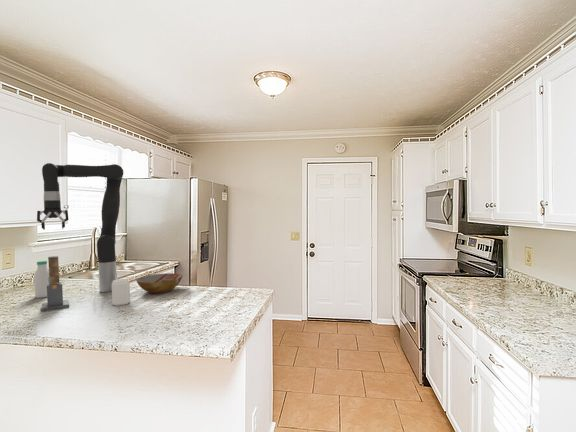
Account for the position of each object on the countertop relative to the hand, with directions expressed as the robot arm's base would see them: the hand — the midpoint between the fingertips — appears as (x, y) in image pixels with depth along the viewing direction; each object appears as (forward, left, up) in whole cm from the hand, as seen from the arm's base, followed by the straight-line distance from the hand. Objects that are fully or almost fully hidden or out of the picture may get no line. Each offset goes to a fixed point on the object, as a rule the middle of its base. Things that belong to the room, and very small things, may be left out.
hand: (53, 229), depth 184 cm
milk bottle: (+8, -5, -38) cm, 39 cm away
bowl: (-55, +10, -38) cm, 68 cm away
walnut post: (-7, +23, -30) cm, 38 cm away
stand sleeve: (-7, +23, -38) cm, 45 cm away
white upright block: (-38, +30, -38) cm, 62 cm away
